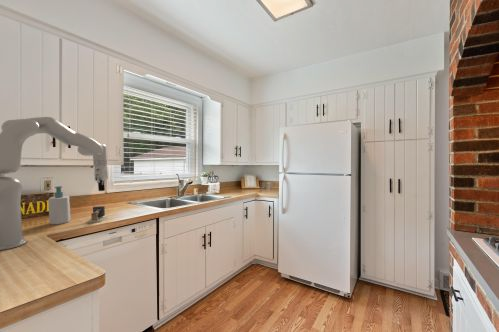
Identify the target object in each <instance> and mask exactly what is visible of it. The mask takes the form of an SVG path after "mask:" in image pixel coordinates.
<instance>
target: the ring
mask: <svg viewBox="0 0 499 332" xmlns="http://www.w3.org/2000/svg"><path fill="white" fill-rule="evenodd" d="M105 207H106V206H105V205H101V206H99V205H98V206H97V205H95V206H93V207H92V213H94V212H95V211H97V210H101V213H98V216H106V211H105V209H106V208H105Z"/></svg>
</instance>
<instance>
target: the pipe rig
mask: <svg viewBox="0 0 499 332" xmlns="http://www.w3.org/2000/svg"><path fill="white" fill-rule="evenodd" d="M98 213H101V210H97V211H95V212H94V213H93V212H91V213H90V214H91V216H90V217H91V218H90V219H89V220H87V223H88V224H89V223H101V222H102V221H104V220H105V219H107V216H106V215H104V216H98Z"/></svg>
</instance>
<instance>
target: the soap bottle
mask: <svg viewBox="0 0 499 332" xmlns="http://www.w3.org/2000/svg"><path fill="white" fill-rule="evenodd" d="M62 188H63V186H62V185H61V186H60V185H58V186H55V187H54V189H55V190H56V192H54V196H51V197H49V198H48V200H47V201H48V216H49V217H48V218H49V221H48V222H49V225H61V224H67V223H69V222H70V221H71V203H70V196H69V195H64V192H63V191H62Z"/></svg>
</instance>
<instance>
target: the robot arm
mask: <svg viewBox="0 0 499 332" xmlns="http://www.w3.org/2000/svg"><path fill="white" fill-rule="evenodd" d="M37 134H47V135H48V136H50V137H52V138H53V139H56V140H57V141H59V142H61V143H62V144H66V145H68V146H73V147H74V146H75V147H77V151H78V154H80V155H82V156H86V157H87V156H88V157H89V156H92V159H93V160H92V161H93V163H92V164H93V166H94V172H93V174H94V180H95V181H96V184H97V186H98V187H97V188H98V189H97V190H98V191H99V192H104V191H105V190H106V189H105V186H106V185H105V181H106V180H108V179H109V174H108V173H109V172H108V161H107V159H108V158H107V157H108V156H107V146H106V144H104V143H99V142H98V141H96V140H95V139H94V138H91V137H89V136H86V135H85V134H81V133H80V132H76V131H74V130H73V129H71V128H69V127H68V126H66V125H65V124H64V123H62V122H60V121H59V120H57V119H55V118H53V117H50V116H38V117H30V118H17V119H8V120H5V121H4V122H3V123H2V124H1V132H0V251H3V250H8V249H14V248H17V247H20V246H23V245H25V244H26V243H27V242H28V239H27V238H24V237H23V226H22V224H23V223H22V210H21V209H22V207H21V206H22V205H21V199H22V197H21V196H22V192H23V185H22V183H21V182H20V180H18V178H15V177H12V176H6V174H7V175H9V174H10V175H11V174H14V173H16V172H18V171H19V169H20V167H21V161H22V150H23V145H24V143H25V142H26V141H27V139H28V138H30V137H33V136H35V135H37Z"/></svg>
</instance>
